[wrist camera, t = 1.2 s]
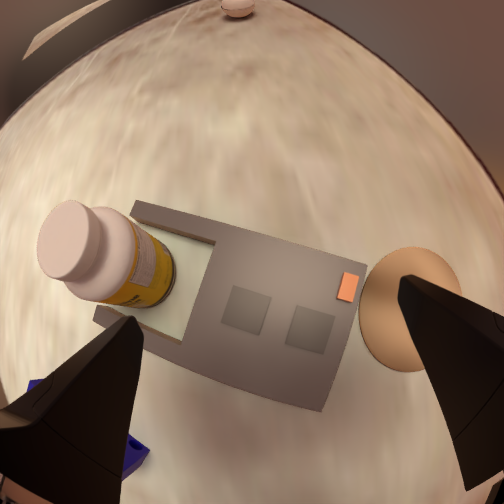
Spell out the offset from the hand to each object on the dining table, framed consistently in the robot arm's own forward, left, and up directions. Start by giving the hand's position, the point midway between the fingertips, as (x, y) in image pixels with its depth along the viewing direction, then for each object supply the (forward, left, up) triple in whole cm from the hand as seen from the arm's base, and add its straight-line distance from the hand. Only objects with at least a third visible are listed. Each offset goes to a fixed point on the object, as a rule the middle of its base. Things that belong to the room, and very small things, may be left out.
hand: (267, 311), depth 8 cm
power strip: (0, +5, -14) cm, 15 cm away
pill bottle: (0, +12, -14) cm, 19 cm away
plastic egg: (+43, +18, -14) cm, 49 cm away
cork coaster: (+4, -12, -14) cm, 19 cm away
